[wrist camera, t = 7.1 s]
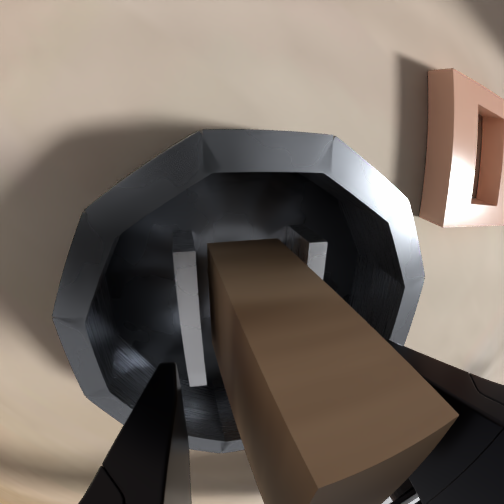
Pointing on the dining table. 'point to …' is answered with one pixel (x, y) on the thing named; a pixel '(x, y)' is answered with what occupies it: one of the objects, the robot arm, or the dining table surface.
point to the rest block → (463, 153)
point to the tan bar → (314, 382)
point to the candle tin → (196, 260)
